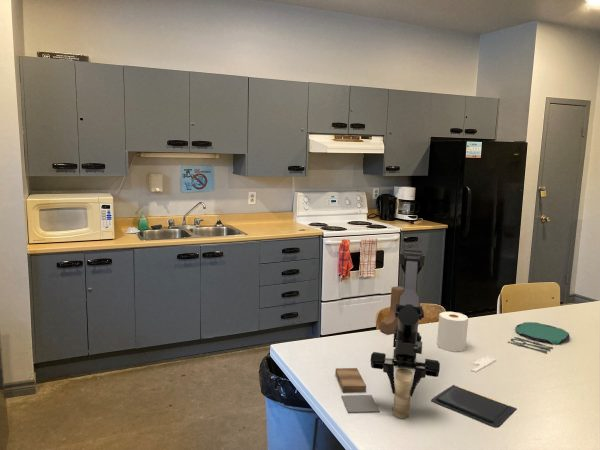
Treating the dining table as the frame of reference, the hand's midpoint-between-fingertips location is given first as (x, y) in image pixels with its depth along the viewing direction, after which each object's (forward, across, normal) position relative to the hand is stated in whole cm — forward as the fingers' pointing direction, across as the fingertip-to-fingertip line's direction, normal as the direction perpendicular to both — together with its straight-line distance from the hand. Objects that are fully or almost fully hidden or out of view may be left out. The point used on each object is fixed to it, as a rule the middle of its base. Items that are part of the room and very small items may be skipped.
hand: (402, 394), depth 131 cm
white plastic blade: (-26, +25, +36) cm, 51 cm away
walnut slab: (-6, -16, +16) cm, 23 cm away
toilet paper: (-35, +16, +45) cm, 60 cm away
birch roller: (+4, 0, +6) cm, 7 cm away
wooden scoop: (-41, -6, +51) cm, 66 cm away
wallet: (-4, +20, +15) cm, 25 cm away
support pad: (+2, -12, +7) cm, 14 cm away
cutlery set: (-50, +51, +60) cm, 93 cm away
